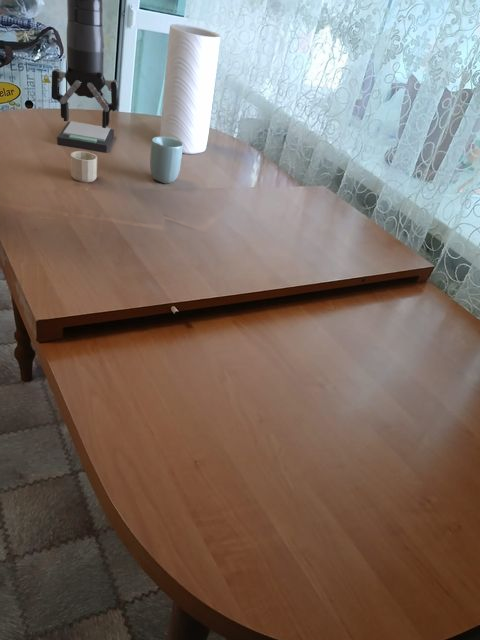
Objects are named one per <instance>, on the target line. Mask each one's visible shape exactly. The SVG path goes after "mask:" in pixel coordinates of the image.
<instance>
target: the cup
mask: <svg viewBox="0 0 480 640" xmlns="http://www.w3.org/2000/svg"><path fill="white" fill-rule="evenodd" d="M182 151H183V144H182V142H181V141H179V140H177V139H174V138H170V137H163V136H160V135H159V136H155V137H153V138H152V139H151V143H150V155H149V170H150V174H151V177H152V178H153V179H154V180H155V181H157V182H159V183H162V184H171V183H174V182H175V181H176V180H177V179H178V177H179V174H180V171H181V167H182V158H183V157H182V156H183V153H182Z"/></svg>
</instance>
